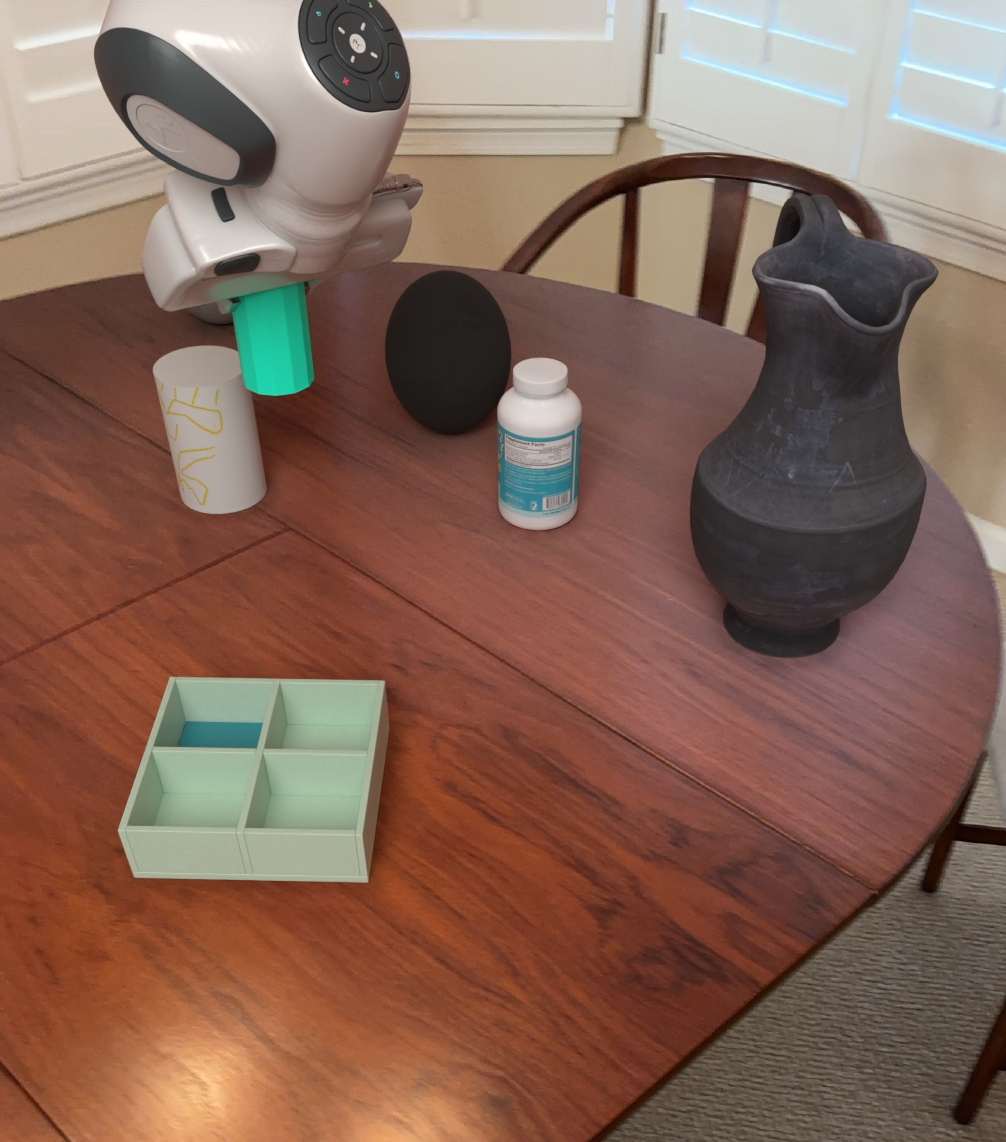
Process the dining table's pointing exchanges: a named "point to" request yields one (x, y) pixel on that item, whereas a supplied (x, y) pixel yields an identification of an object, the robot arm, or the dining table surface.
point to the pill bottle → (539, 446)
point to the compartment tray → (259, 781)
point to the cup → (210, 429)
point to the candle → (274, 340)
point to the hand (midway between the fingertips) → (262, 295)
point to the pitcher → (815, 440)
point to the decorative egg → (448, 351)
